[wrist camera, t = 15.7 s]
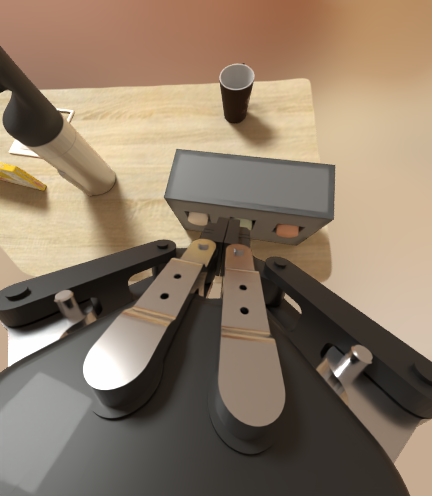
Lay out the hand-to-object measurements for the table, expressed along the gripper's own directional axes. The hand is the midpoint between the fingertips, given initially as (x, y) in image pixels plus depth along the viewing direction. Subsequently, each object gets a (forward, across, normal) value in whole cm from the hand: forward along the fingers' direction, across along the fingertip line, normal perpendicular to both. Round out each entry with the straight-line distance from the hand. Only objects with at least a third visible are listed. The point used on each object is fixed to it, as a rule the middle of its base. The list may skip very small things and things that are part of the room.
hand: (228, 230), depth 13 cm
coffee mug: (+57, +4, -12) cm, 59 cm away
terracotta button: (+26, -10, +9) cm, 30 cm away
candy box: (+35, +63, +11) cm, 73 cm away
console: (+33, -1, +12) cm, 35 cm away
